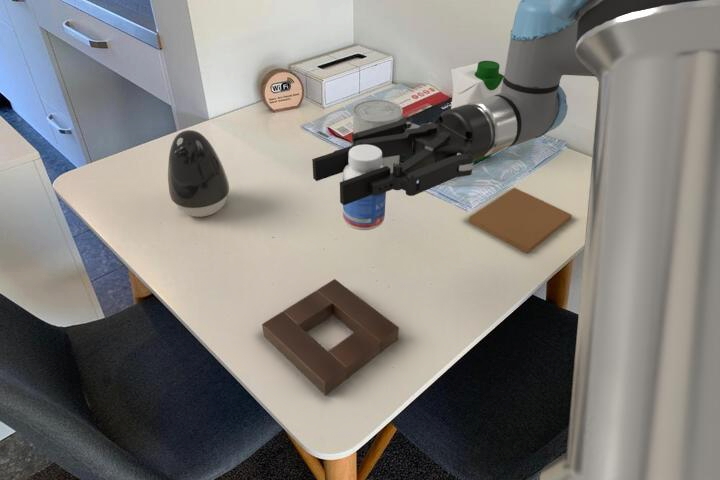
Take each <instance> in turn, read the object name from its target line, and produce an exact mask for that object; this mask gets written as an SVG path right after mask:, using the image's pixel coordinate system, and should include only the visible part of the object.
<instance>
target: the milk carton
mask: <svg viewBox="0 0 720 480" xmlns="http://www.w3.org/2000/svg"><path fill="white" fill-rule="evenodd" d="M500 65H501V64H500V63H498V62H496V61H494V60H493V61H492V60H481V61H479V62H476V63H472V64H468V65H464V66H460V67H456V68H452V69H451V70H450V71H451V82H452V95H451V96H452V98H451V106H450V109H452V108H456V107H459V106H462V105H466V104H468V103H471V102H474V101H477V100H481V99H484V98H488V97H491V96H494V95H496V94H499V93H500V92H501V87H502V82H503V78H504V74H505V72H503V71H502V70H500ZM491 155H492V154H490V155H487V156H483V157H482V158H480V159H477V160H475V161H474V163H473V164H475V163H478V162H481V161H483V160H487V159H489V158H491Z"/></svg>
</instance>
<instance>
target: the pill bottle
mask: <svg viewBox="0 0 720 480" xmlns="http://www.w3.org/2000/svg"><path fill="white" fill-rule="evenodd" d="M348 161H349V164H348V165H347V166H346V167H345V168H344V170H343V172H342V181H345V180H348V179H351V178H354V177H356V176H359V175H362V174H365V173H368V172H371V171H374V170H376V169H379V168H382V167H384V166H383V165H381V164H382V151H381V150H380V149H379V148H378V147H376V146H373V145H357V146H354V147H352V148H351V149H350V150H349V159H348ZM386 201H387V192H384V193H381V194H379V195H375V196H373V195H370V196H368V197H365V198H362V199H360V200H357V201H354V202H352V203H349V204H346V205H343V204H342V218H343V222H344V223H345V224H346V225H347V226H348V227H349V228H352V229H354V230H357V231H370V230H371V231H372V230H374V229H377V228H379V227H380V226H381V225H383V223H384V221H385V216H386V215H385V214H386Z"/></svg>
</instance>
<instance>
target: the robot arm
mask: <svg viewBox="0 0 720 480" xmlns="http://www.w3.org/2000/svg"><path fill="white" fill-rule="evenodd" d="M509 34H510V39H509V45H508V50H507V51H508V52H507V57H506V62H505V69H504V73H505V74H504V78H503V82H502V87H501V92H500V93H499V94H496V95H494V96H491V97H488V98H484V99H481V100H477V101H474V102H471V103H468V104H466V105H462V106H459V107H456V108H452V109H451V108H449V109H447V110H445V111H443V112H442V113H441V114H440V115H439V117H438V118H437V119H436V120H435V121H433V122H430V123H429V122H427V123H426V122H425V123H421V124H420V125H419V124H416V123H413V118H412V116H409V115H407V116H402V119H400V120H398V121H396V122H393V123H389V124H386V125H382V126H378V127H375V128H371V129H368V130H364V131H361V132H357V133H354V134H353V133H352V134H351V143H350V145H349V146H346V147H343V148H340V149H337V150H334V151H333V152H330V153H327V154H324V155H320V156H318V157H315V158H312V159H311V162H312V178H313V180H315V182H319V181H321V180H325V179H327V178H330V177H333V176H336V175H339V174H343V170H344V168H345V167H346V166H347V165H348V164H349V161H348V159H349V150H350V149H351V148H352V147H354V146H357V145H373V146H376V147H378V148H379V149H380V150H381V151H382V158H385V157H392V156H398V155H400V156H403V155H405V156H406V157H408V159H406V160H404V161H403V162H402V163H399V165H398V164H396V166H395V163H394V164H393V173H390V171H391V169H390V168H389V167H388V166H385V167H382V168H379V169H376V170H374V171H371V172H368V173H365V174H362V175H359V176H356V177H354V178H351V179H348V180H345V181H343V180H342V181H340V182H339V203H340V204H341V205H342V206H343V205H346V204H349V203H352V202H354V201H357V200H360V199H362V198H365V197H368V196H370V195H373V196H375V195H379V194H381V193H384V192H386V193H387V192H389V191H392V190H394V191H401V190H403V191H405V195H406V196H409V197H414V196H417V195H418V194H421V193H423V192H426V191H428V190H430V189H433V188H435V187H437V186H439V185H442V184H444V183H447V182H449V181H452V180H454V179H457V178H462V177H468V176H471V175H472V174H473V169H474V164H475V163H474V161H475V160H477V159H480V158H482V157H483V156H487V155H490V154H491V155H492V154H495V153H498V152H499V151H503V150H505V149H508V148H511V147H514V146H517V145H519V144H523V143H524V142H527V141H530V140H533V139H538V138H540V137H542V136H544V135H546V134H547V133H549V132H551V131H554V130H555V129H557V128H559V126H561V124H563V122H564V120H565V119H566V117H567V114H568V110H569V109H568V108H569V107H568V103H567V95H566V92H565V90H564V89H563V88H562V87H561V86H560V84H561V79H562V76H577V77H578V76H579V77H595V78H596V80H597V82H598V90H597V100H596V110H595V121H594V122H595V123H594V134H593V144H592V145H593V146H592V156H591V157H592V158H591V169H590V181H589V190H588V191H589V192H588V204H587V214H586V215H587V216H586V224H585V225H586V227H585V237H584V249H583V258H582V259H583V260H582V270H581V271H582V272H581V283H580V296H579V306H578V315H577V317H578V319H577V329H576V340H575V353H574V362H573V372H572V373H573V374H572V375H573V376H572V385H571V397H570V407H569V409H570V410H569V420H568V431H567V442H566V443H567V444H566V452H565V453H564V454H562V455H561V456H559V457H557V458H556V459H554V460H553V461H551V462H549V463H547V464H546V465H545V466H544V467H543V468H542V469H541V471H540V472H539V478H538V480H720V0H520V1H519V3H518V5H517V9H516V12H515V16H514V19H513V24H512V28H511V30H510V33H509Z"/></svg>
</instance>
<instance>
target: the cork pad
mask: <svg viewBox="0 0 720 480" xmlns="http://www.w3.org/2000/svg"><path fill="white" fill-rule="evenodd" d="M572 217H573V214H572V213H570V212H568V211H565V210H563V209H561V208H558V207H557V206H555V205H552V204H550V203H549V202H546V201H544V200H542V199H540V198H537V197H535V196H533V195H532V194H529V193H526V192H525V191H522V190H521V189H518V188H516V187H513V188H512V189H510V190H508V191H506V192H505V193H504V194H502V195H500V196H499V197H498V198H496V199H495V200H493V201H491V202H490V203H489V204H487V205H486V206H484V207H482V208H480V209H479V210H478V211H477V212H475V213H473V214H472V215H471V216H469V218H468V222H469V223H470V224H472V225H473V226H476V227H478V228H479V229H482V230H483V231H485V232H487V233H489V234H491V235H492V236H494V237H496V238H497V239H500V240H501V241H504V242H505V243H506V244H509V245H511V246H513V247H514V248H517V249H518V250H520V251H521V252H524V253H526V254H529V253H530V252H532V251H533V250H534V249H535V248H537V247H538V246H539V245H541V243H543V242H544V241H545V240H546V239H548V238H549V237H551V236H552V235H553V234H554V233H556V232H557V231H558V230H559V229H561V228H562V227H563V226H564V225H566V224H567V223H568V222H569V221H571V219H572Z"/></svg>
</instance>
